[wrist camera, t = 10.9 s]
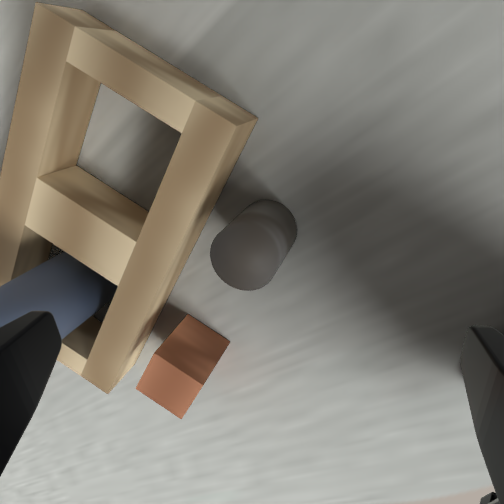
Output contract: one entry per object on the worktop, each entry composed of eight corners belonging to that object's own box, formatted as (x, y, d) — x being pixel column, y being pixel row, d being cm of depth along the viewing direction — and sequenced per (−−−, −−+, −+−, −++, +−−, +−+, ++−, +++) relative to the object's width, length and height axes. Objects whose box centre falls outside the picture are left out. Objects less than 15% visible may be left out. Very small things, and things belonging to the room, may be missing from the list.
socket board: (341, 168, 20) (328, 191, 17) (191, 402, 29) (162, 449, 25) (81, 10, 21) (17, -2, 17) (12, 282, 30) (-41, 311, 26)
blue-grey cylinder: (131, 276, 26) (-107, 463, 14) (101, 313, 28) (-133, 506, 16) (82, 230, 26) (-204, 377, 14) (54, 270, 28) (-219, 431, 16)
